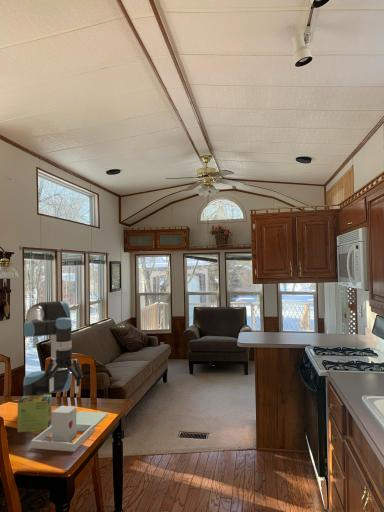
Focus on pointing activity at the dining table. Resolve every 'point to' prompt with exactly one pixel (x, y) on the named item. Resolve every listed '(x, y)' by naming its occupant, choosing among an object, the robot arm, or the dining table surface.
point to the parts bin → (62, 446)
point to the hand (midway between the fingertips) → (64, 392)
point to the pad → (90, 417)
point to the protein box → (34, 413)
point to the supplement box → (64, 424)
